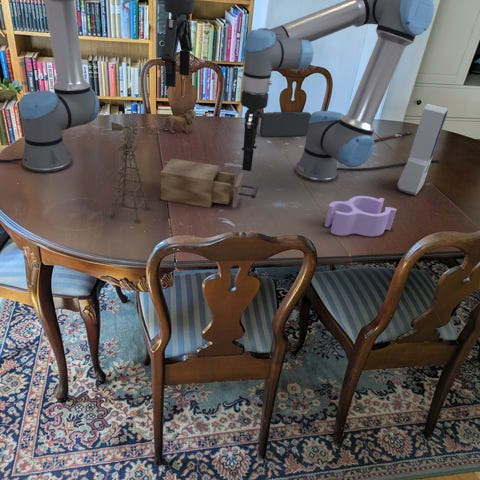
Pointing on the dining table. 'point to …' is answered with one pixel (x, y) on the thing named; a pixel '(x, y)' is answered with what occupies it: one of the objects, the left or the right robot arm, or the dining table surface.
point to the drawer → (229, 188)
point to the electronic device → (422, 149)
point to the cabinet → (188, 182)
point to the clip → (359, 216)
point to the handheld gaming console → (284, 123)
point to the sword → (390, 137)
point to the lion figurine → (180, 121)
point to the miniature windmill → (125, 147)
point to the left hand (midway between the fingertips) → (177, 80)
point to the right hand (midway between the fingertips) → (246, 169)
